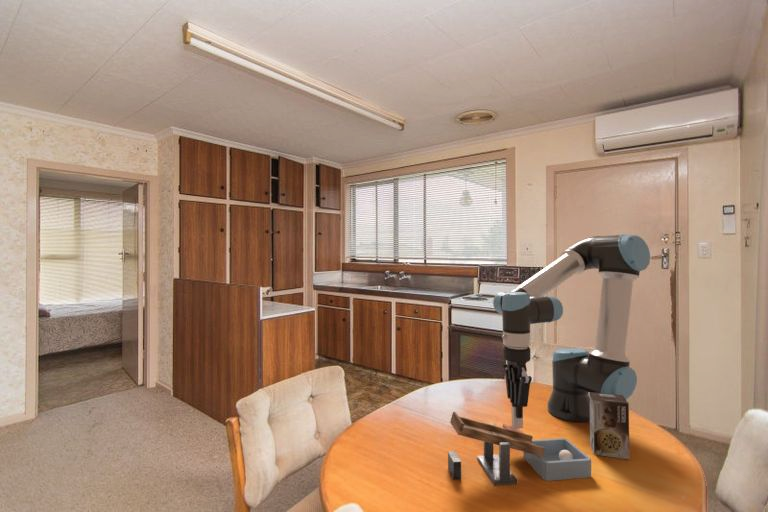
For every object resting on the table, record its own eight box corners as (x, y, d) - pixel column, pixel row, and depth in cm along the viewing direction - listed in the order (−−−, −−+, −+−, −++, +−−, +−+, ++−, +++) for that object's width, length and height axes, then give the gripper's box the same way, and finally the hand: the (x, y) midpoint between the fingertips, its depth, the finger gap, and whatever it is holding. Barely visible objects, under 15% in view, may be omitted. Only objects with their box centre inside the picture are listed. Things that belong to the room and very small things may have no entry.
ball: (570, 453, 104) (562, 444, 104) (578, 460, 101) (570, 451, 100) (561, 462, 104) (553, 453, 104) (569, 469, 100) (561, 460, 100)
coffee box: (623, 449, 111) (623, 394, 111) (630, 460, 105) (630, 403, 104) (589, 444, 114) (589, 391, 113) (593, 454, 108) (593, 399, 107)
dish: (565, 453, 108) (565, 437, 108) (592, 477, 97) (592, 459, 97) (522, 456, 107) (522, 440, 107) (544, 480, 95) (544, 463, 95)
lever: (517, 431, 112) (520, 421, 112) (544, 458, 97) (547, 447, 97) (443, 411, 109) (446, 401, 109) (458, 436, 94) (462, 424, 94)
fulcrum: (497, 457, 106) (497, 422, 106) (517, 483, 94) (517, 444, 94) (444, 461, 104) (444, 426, 104) (457, 488, 93) (457, 448, 92)
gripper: (494, 341, 114) (495, 418, 114) (514, 352, 101) (515, 439, 101) (518, 340, 115) (518, 416, 115) (540, 351, 102) (541, 437, 102)
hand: (517, 427), depth 108 cm, fingers closed
